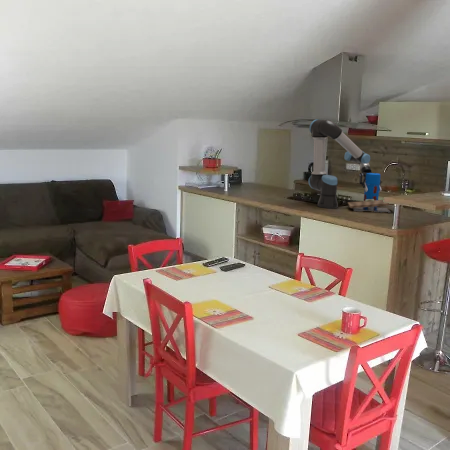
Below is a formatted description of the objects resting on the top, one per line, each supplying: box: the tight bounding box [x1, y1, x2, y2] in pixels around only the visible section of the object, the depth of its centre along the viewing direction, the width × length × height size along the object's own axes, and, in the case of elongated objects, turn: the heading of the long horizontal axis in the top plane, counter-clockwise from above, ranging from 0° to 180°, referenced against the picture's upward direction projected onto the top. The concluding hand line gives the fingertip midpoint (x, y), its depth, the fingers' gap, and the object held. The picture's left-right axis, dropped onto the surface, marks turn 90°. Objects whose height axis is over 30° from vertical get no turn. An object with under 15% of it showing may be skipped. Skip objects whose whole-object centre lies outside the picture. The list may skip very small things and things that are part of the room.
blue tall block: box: [363, 172, 381, 208], centre depth 391 cm, size 11×11×25 cm
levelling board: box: [347, 199, 394, 209], centre depth 374 cm, size 32×16×3 cm, turn 84°
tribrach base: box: [351, 207, 392, 214], centre depth 375 cm, size 26×14×4 cm, turn 84°
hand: (373, 191), depth 389 cm, fingers closed on blue tall block, 11 cm apart
